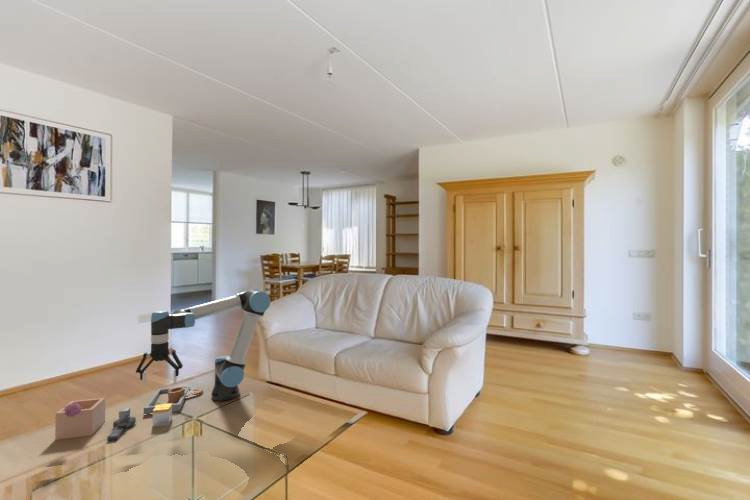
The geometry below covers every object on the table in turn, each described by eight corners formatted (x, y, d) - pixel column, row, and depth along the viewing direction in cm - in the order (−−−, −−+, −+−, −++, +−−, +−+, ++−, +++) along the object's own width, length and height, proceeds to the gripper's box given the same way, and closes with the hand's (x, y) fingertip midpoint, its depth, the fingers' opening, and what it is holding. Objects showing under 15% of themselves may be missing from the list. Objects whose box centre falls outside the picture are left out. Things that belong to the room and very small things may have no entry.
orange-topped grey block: (172, 418, 181) (172, 403, 181) (168, 425, 174) (168, 408, 174) (156, 420, 179) (156, 404, 179) (152, 427, 172) (152, 410, 172)
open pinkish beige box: (105, 421, 177) (105, 397, 178) (92, 435, 164) (92, 409, 164) (71, 425, 173) (71, 401, 173) (55, 439, 160) (55, 413, 160)
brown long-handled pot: (170, 406, 196) (169, 394, 196) (167, 402, 202) (166, 390, 202) (205, 395, 208) (204, 383, 208) (200, 391, 214) (199, 380, 214)
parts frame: (190, 392, 215) (190, 386, 215) (180, 411, 189) (180, 404, 189) (158, 395, 210) (158, 389, 210) (143, 415, 184) (143, 408, 184)
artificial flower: (86, 423, 172) (74, 418, 153) (70, 419, 170) (56, 414, 151) (95, 409, 176) (84, 402, 156) (80, 405, 174) (67, 398, 155)
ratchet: (138, 420, 179) (138, 404, 179) (124, 439, 161) (124, 421, 161) (117, 423, 176) (117, 406, 176) (100, 442, 158) (100, 424, 158)
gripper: (188, 338, 185) (188, 378, 184) (133, 342, 177) (133, 384, 176) (186, 341, 178) (186, 383, 177) (128, 346, 169) (128, 390, 169)
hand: (159, 384), depth 177 cm, fingers open, 13 cm apart
